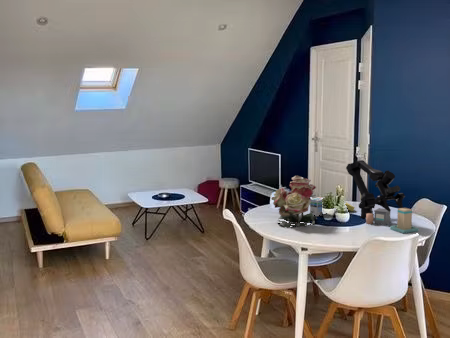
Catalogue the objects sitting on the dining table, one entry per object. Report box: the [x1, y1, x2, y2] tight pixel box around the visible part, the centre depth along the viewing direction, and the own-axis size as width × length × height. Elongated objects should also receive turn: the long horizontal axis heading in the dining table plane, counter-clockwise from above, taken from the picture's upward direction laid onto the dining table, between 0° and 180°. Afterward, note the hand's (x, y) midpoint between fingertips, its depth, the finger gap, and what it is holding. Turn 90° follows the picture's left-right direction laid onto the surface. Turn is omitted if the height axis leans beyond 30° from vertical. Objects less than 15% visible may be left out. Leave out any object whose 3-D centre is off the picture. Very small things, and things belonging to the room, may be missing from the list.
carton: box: [396, 207, 413, 230], centre depth 291 cm, size 6×6×12 cm
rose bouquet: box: [271, 175, 318, 228], centre depth 312 cm, size 26×29×30 cm
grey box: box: [373, 207, 392, 226], centre depth 309 cm, size 8×9×8 cm
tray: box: [389, 224, 420, 234], centre depth 292 cm, size 11×11×2 cm
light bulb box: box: [309, 196, 324, 217], centre depth 335 cm, size 11×7×11 cm, turn 131°
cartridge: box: [365, 213, 375, 225], centre depth 309 cm, size 4×4×6 cm
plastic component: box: [345, 202, 355, 212], centre depth 350 cm, size 20×7×10 cm
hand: (396, 210), depth 297 cm, fingers open, 9 cm apart
